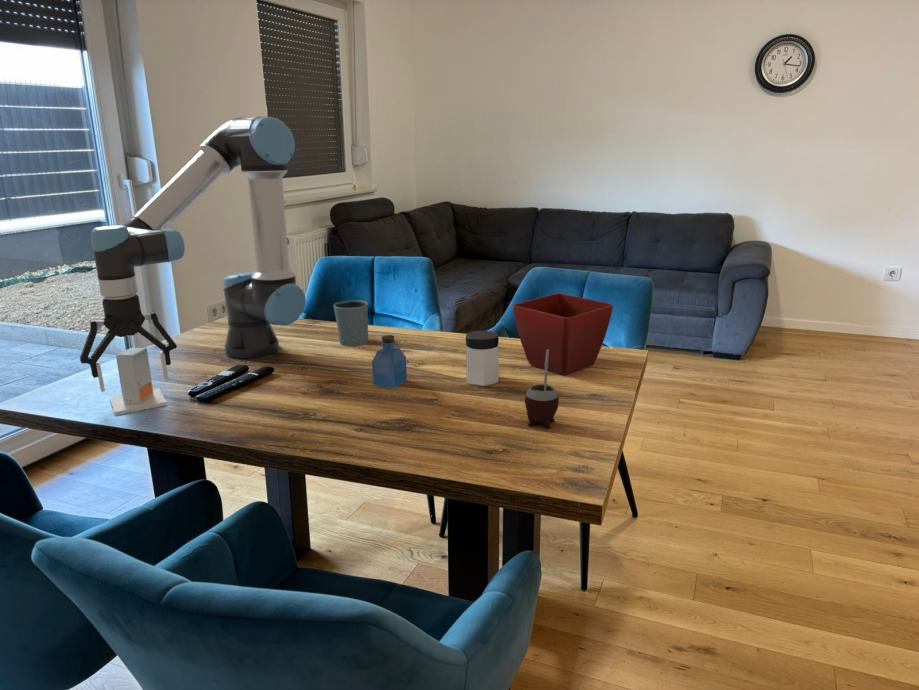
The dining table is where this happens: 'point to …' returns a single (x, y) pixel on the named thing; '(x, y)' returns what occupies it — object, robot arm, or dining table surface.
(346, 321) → the grey cup
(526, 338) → the plant pot
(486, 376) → the jar
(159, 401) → the coaster
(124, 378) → the skincare box
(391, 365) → the perfume bottle
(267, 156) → the robot arm
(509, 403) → the dining table surface
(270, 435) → the dining table surface
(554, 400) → the mate gourd
